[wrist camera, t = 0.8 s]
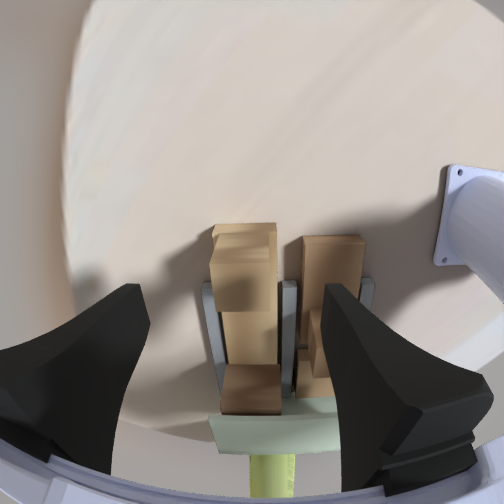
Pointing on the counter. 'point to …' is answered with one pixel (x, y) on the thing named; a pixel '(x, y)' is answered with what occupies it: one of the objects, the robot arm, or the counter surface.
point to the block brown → (313, 284)
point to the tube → (272, 476)
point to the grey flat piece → (303, 378)
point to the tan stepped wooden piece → (246, 290)
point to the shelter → (281, 429)
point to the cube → (251, 390)
